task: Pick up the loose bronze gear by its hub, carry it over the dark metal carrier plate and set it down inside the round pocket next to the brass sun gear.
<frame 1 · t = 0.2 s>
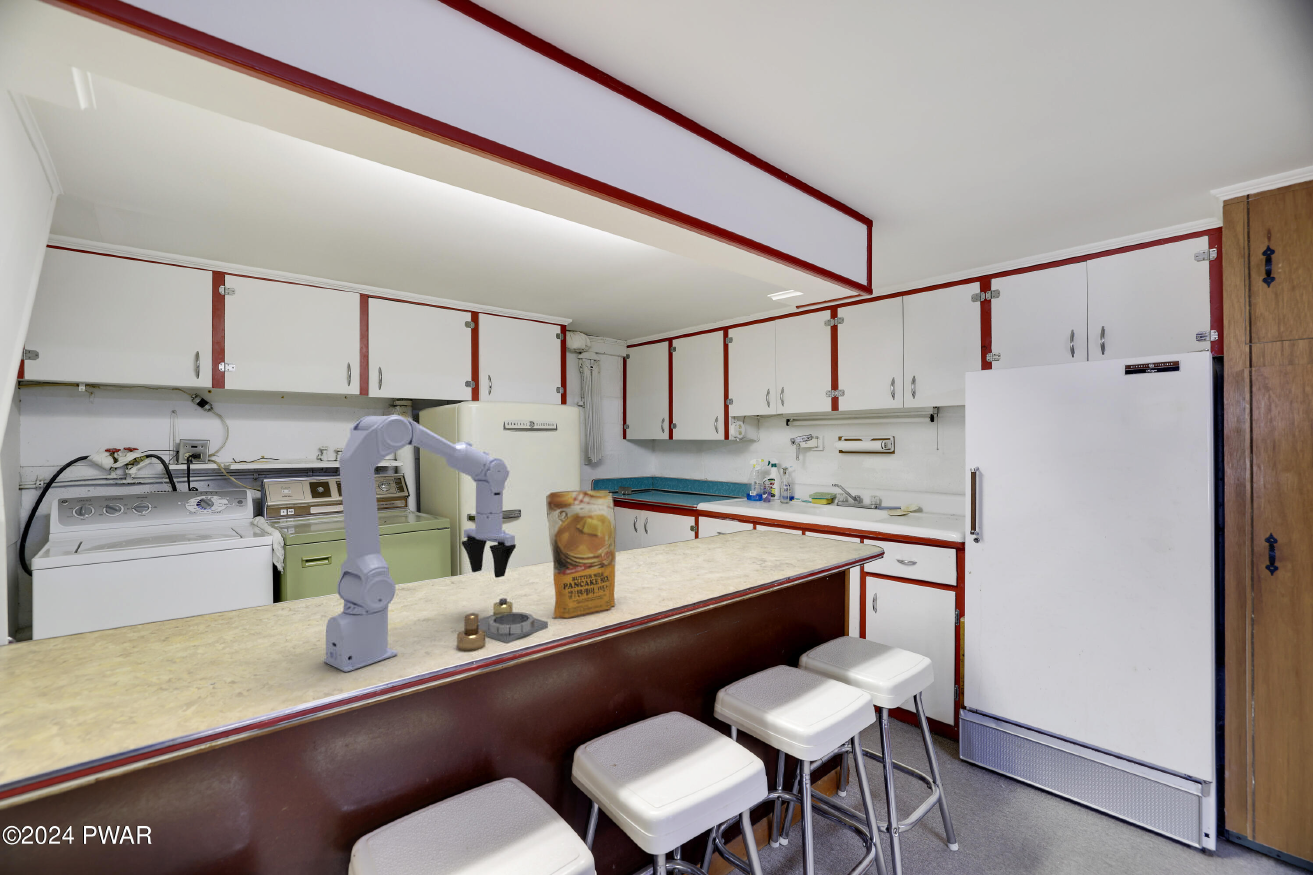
hand: (488, 573, 121), 10 cm above the counter, tool pointing down, fingers open, 7 cm apart
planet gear: (471, 646, 106), on the counter
pancake mix bag: (582, 611, 128), on the counter
carrier: (506, 628, 116), on the counter
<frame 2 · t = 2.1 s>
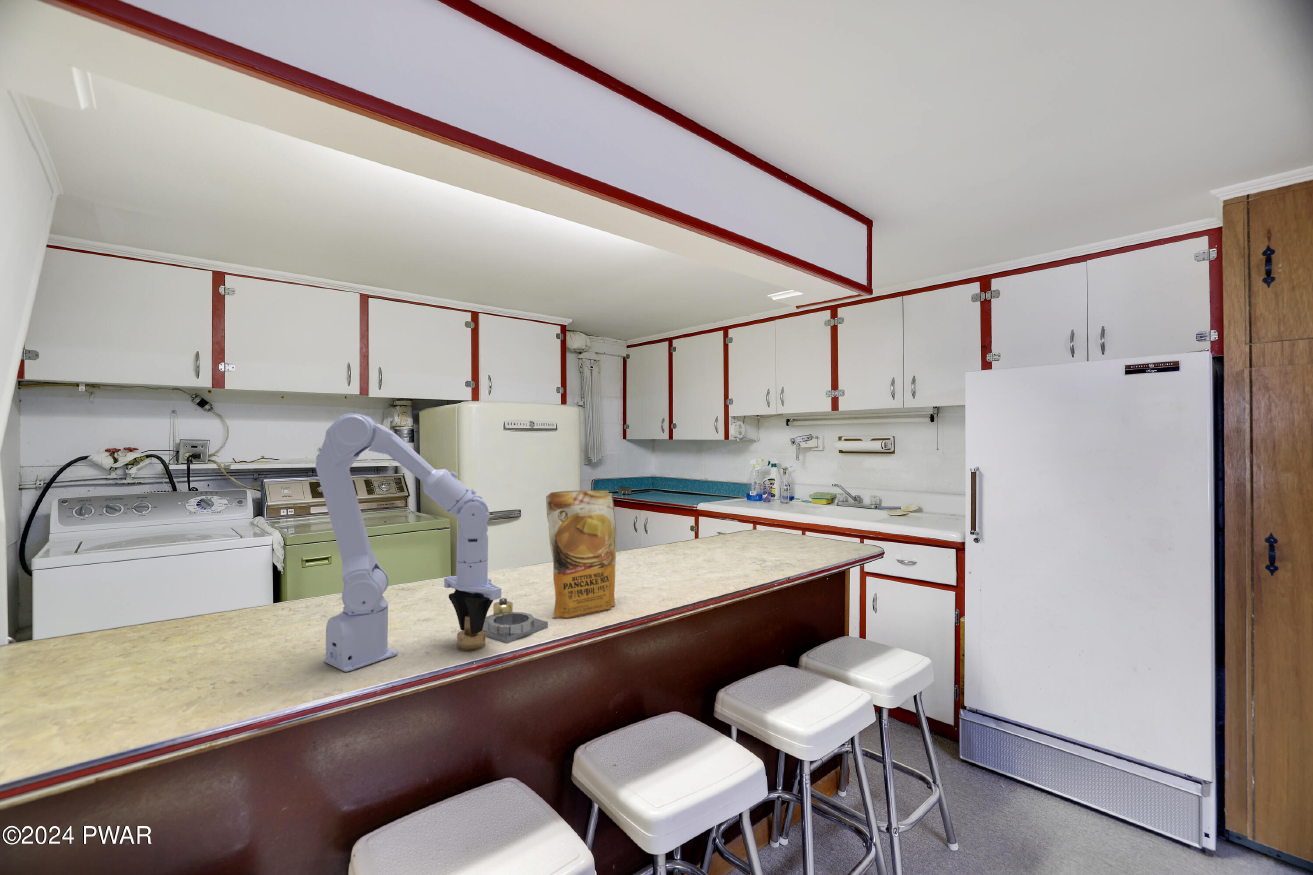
hand: (471, 630, 106), 3 cm above the counter, tool pointing down, fingers closed on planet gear, 3 cm apart
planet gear: (471, 646, 106), on the counter, touching gripper
everything else where it was.
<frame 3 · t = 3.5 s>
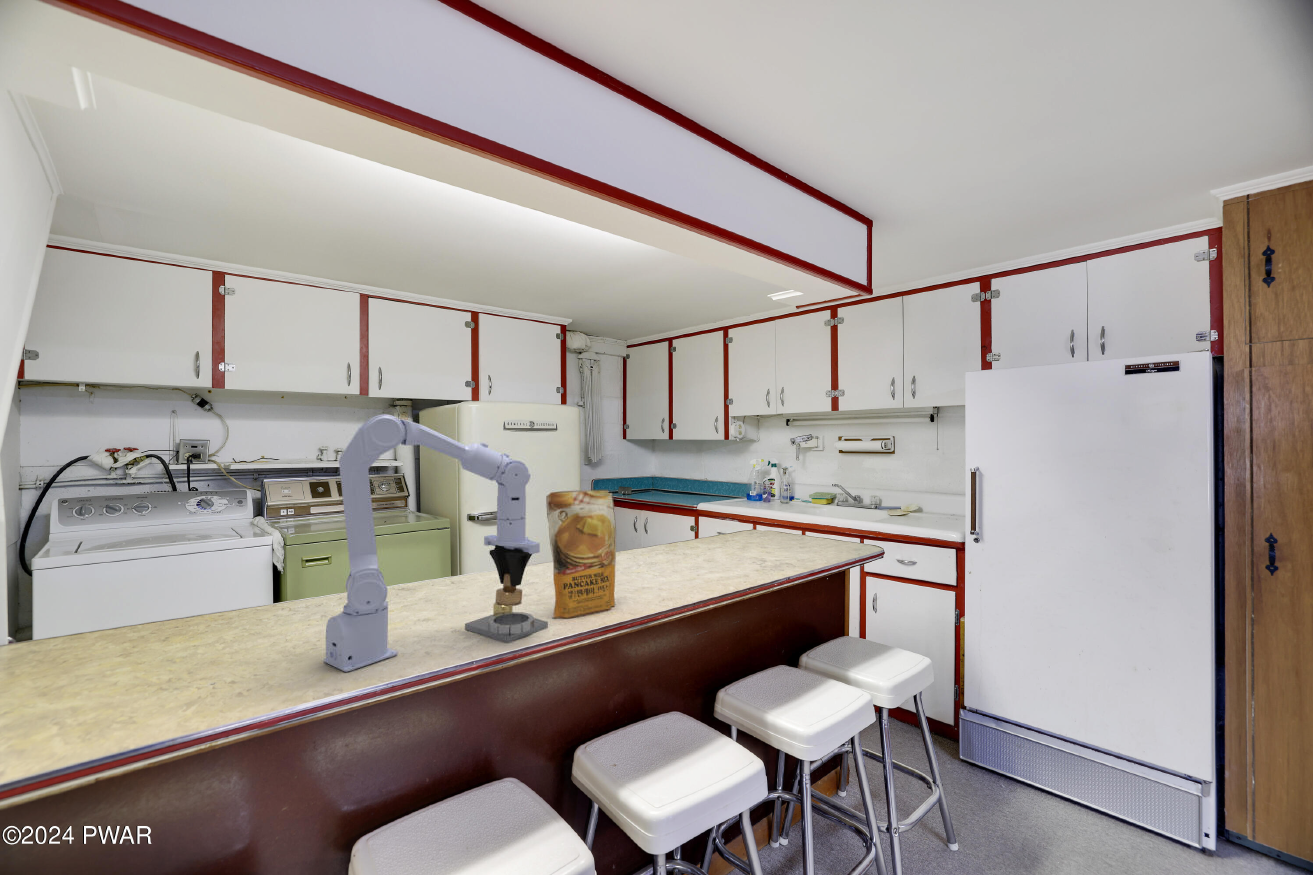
hand: (510, 584, 113), 10 cm above the counter, tool pointing down, fingers closed on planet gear, 3 cm apart
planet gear: (508, 602, 113), point 6 cm above the counter, touching gripper
everything else where it was.
when the fingers open (5 cm above the counter, at t = 4.7 s): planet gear stays where it is, resting on carrier.
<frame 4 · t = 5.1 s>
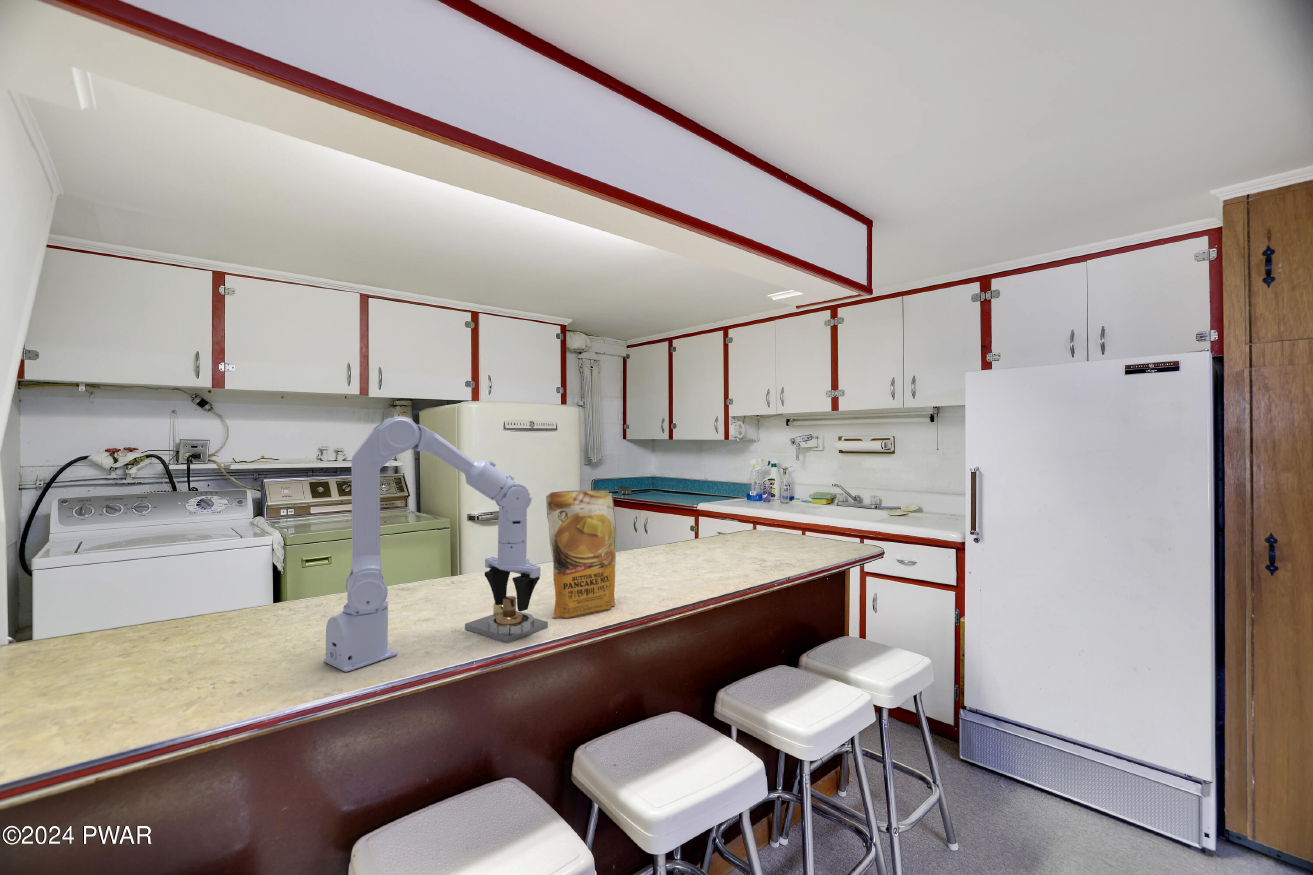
hand: (511, 606, 114), 5 cm above the counter, tool pointing down, fingers open, 6 cm apart
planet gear: (509, 627, 113), point 1 cm above the counter, touching carrier
everything else where it was.
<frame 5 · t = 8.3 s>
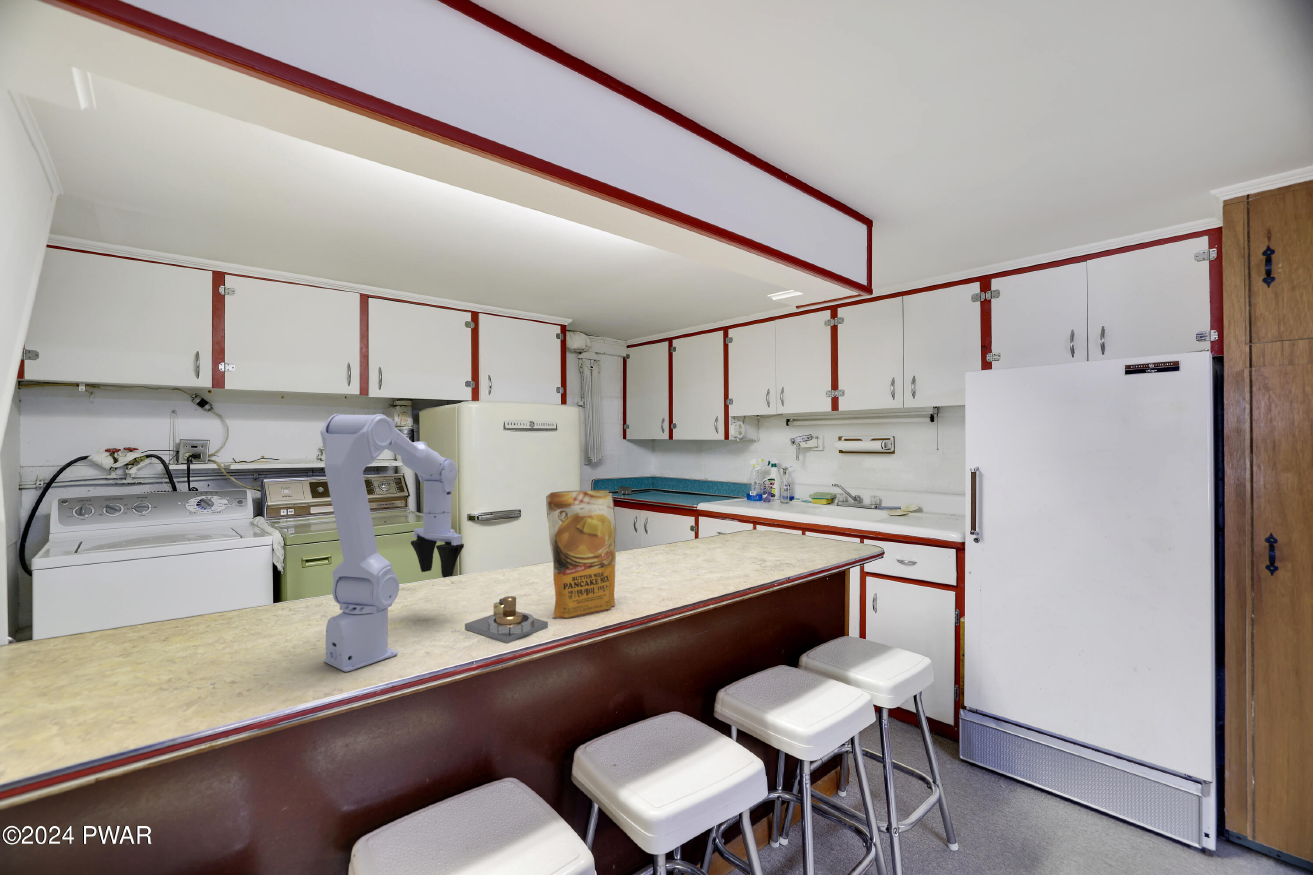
hand: (436, 573, 121), 10 cm above the counter, tool pointing down, fingers open, 7 cm apart
nothing on the counter moved.
at the end: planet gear 0.5 cm from the target spot on the carrier, point 1.2 cm above the carrier's base; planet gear tilted 0°; the gripper is holding nothing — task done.
